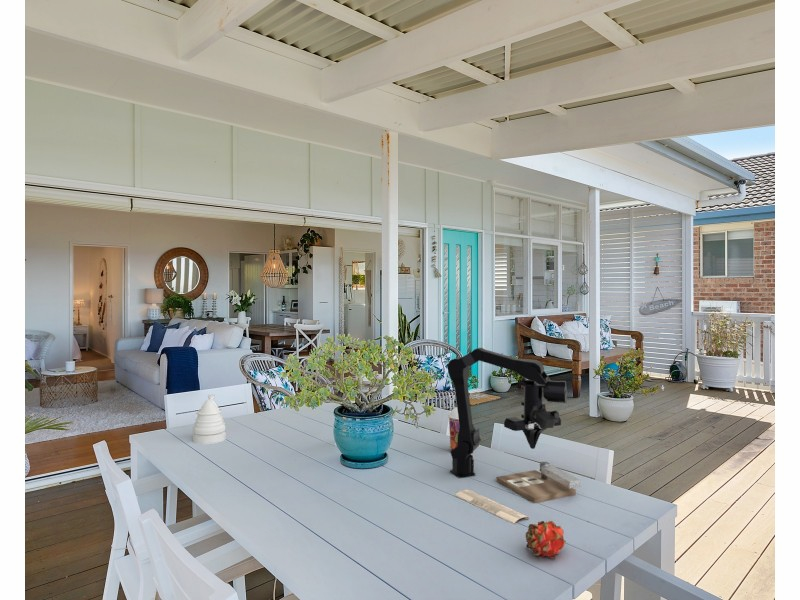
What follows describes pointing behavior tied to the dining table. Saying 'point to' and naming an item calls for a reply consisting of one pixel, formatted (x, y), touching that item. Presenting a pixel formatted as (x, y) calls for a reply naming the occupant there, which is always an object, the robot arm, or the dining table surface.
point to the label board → (535, 486)
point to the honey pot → (209, 424)
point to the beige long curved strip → (490, 506)
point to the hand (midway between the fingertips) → (532, 448)
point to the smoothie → (453, 428)
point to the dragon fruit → (545, 539)
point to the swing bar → (559, 475)
